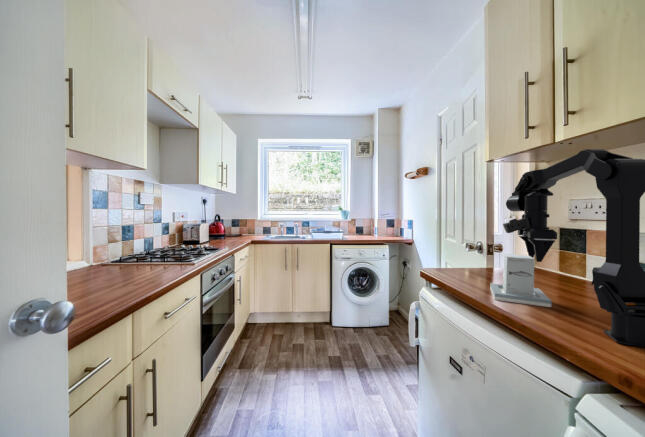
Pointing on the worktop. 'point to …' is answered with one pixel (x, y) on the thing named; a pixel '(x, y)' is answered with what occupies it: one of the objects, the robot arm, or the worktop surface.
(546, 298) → the tile coaster
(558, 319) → the worktop surface
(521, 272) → the supplement box
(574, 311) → the worktop surface
